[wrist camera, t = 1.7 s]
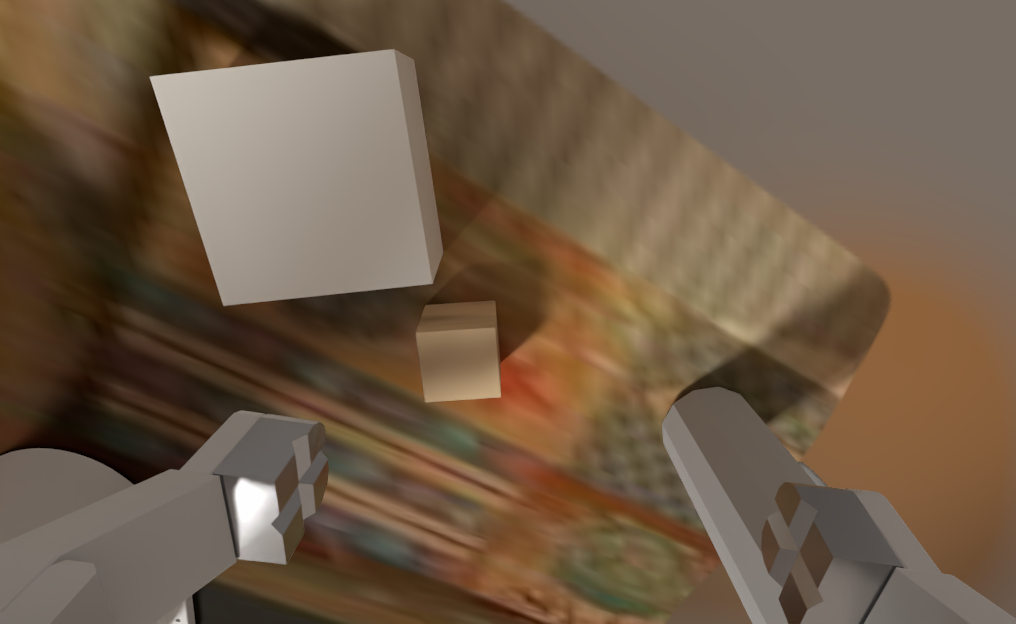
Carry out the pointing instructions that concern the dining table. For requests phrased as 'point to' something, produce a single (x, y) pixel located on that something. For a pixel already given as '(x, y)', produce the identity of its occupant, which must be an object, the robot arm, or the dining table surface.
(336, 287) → the white square block
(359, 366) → the dining table surface
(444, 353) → the oak cube
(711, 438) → the water bottle
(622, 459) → the dining table surface
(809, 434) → the dining table surface
